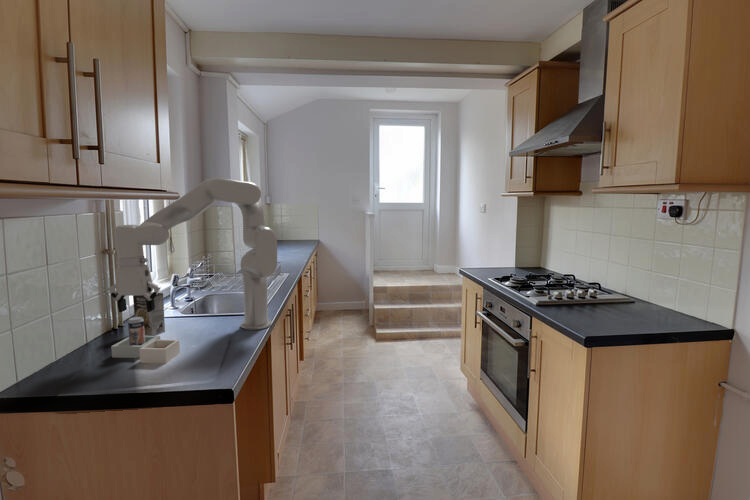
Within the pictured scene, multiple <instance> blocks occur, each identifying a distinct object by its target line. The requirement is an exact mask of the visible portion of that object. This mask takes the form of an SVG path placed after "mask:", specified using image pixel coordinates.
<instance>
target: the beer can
mask: <svg viewBox="0 0 750 500" xmlns="http://www.w3.org/2000/svg"><path fill="white" fill-rule="evenodd" d="M127 326H128V327H127V328H128V337H129V343H130V345H142V344H144V343H145V336H146V335H145V331H144V319H143V318H142V317H135V316H133V317H130V318H128V321H127Z"/></svg>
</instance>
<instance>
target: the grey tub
mask: <svg viewBox="0 0 750 500" xmlns="http://www.w3.org/2000/svg"><path fill="white" fill-rule="evenodd" d="M153 340H161V335H155V336H147V335H145V343H144V344H142V345H130V343H129V336H128V337H125V338H124V339H122V340H121V341H119V342H116V343H114V344H113V345H111V346H110V347H111V357H112V358H114V359H115V358H122V359H123V358H124V359H129V358H131V359H135V358H136V359H140V350H139V349H140V348H142V347H143V346H145V345H147V344H148V343H150V342H151V341H153Z"/></svg>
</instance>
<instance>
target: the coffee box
mask: <svg viewBox="0 0 750 500" xmlns="http://www.w3.org/2000/svg"><path fill="white" fill-rule="evenodd" d="M153 292H154V291H152V293H153ZM132 299H133V301H132V302H133V313H134V315H133V317H142V318H143V319H144V331H145V336H159V335H161V334H163V333H165V332H166V324H165V306H164V305H165V303H164V302H165V301H164V293H163V292H159V294H158V295H157V296H156V298H155V299H154V304H155V308H154V310H153V311H151V312H147V306H146V301H147V299H146V298H145V297H144V296H143V295H139V296H132Z"/></svg>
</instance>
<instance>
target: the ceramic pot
mask: <svg viewBox="0 0 750 500" xmlns="http://www.w3.org/2000/svg"><path fill="white" fill-rule="evenodd" d="M166 345H167V347H166V348H155V347H156V346H166ZM180 349H181V348H180V339H160V340H153V341H151V342H150V343H148V344H147V345H145V346H143V347H142V348H140V349H139V350H140V358H139V359H140V360H139V363H140V364H167V363H169V362H170V361H172V360H173V359H174V358H175V357H177V356H178V355H180V354H181V353H180V352H181V350H180Z"/></svg>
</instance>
